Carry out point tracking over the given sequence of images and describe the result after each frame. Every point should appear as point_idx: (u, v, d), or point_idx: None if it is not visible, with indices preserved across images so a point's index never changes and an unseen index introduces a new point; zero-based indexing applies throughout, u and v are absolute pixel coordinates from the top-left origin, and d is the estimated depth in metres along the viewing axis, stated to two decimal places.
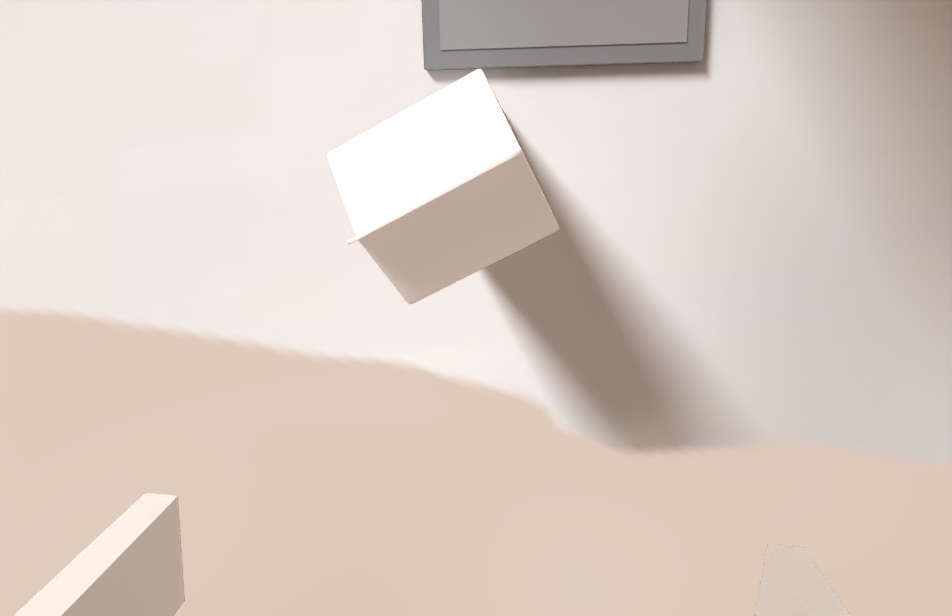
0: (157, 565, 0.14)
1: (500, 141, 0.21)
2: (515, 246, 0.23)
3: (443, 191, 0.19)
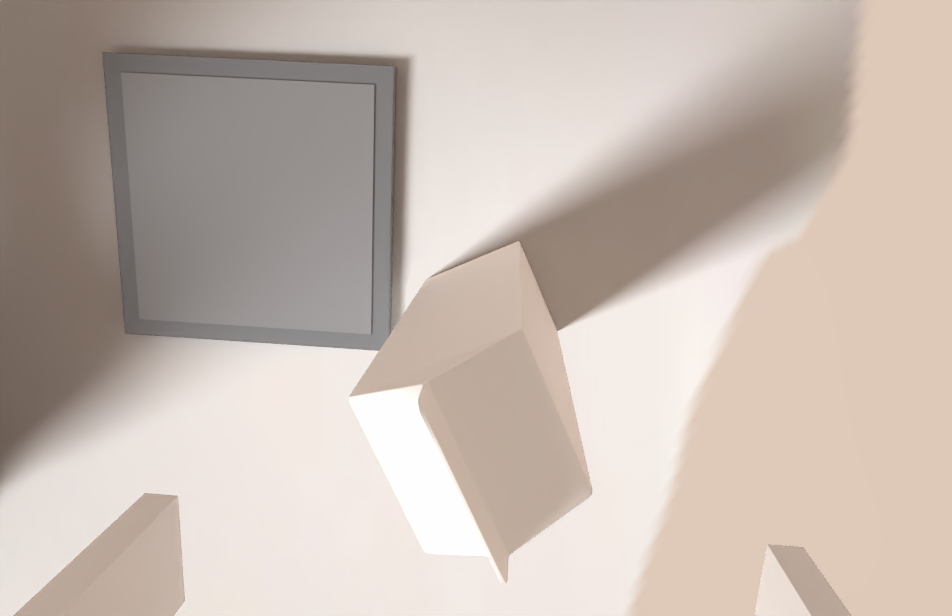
0: (157, 565, 0.14)
1: (415, 400, 0.19)
2: (536, 379, 0.20)
3: (456, 485, 0.18)
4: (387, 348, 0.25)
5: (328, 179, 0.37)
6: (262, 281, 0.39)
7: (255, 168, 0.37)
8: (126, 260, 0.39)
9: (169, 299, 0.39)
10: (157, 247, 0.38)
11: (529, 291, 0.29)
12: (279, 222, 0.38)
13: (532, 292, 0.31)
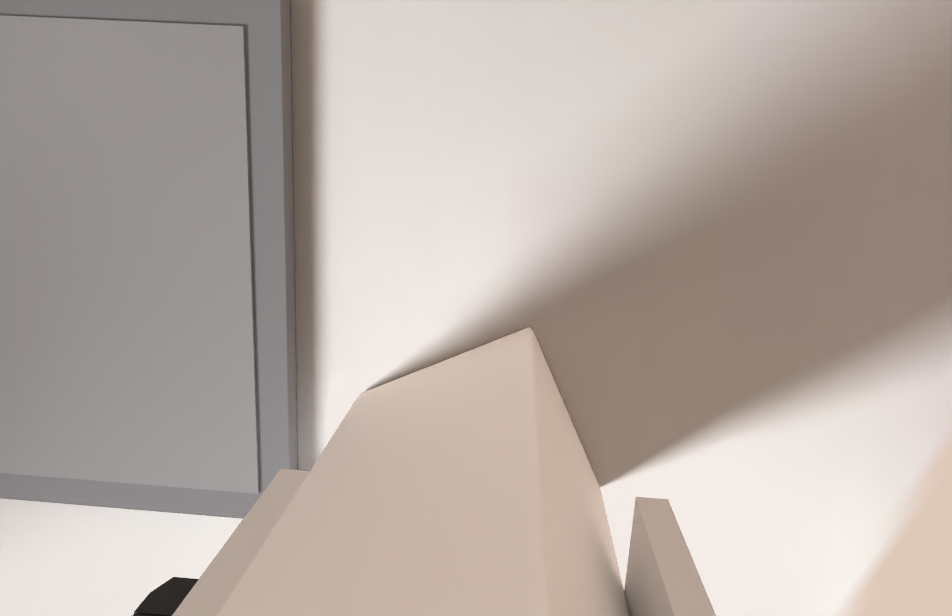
0: None
1: None
2: None
3: None
4: None
5: (165, 213, 0.19)
6: (55, 398, 0.21)
7: (26, 191, 0.19)
8: None
9: None
10: None
11: (563, 524, 0.11)
12: (78, 292, 0.20)
13: (566, 494, 0.13)
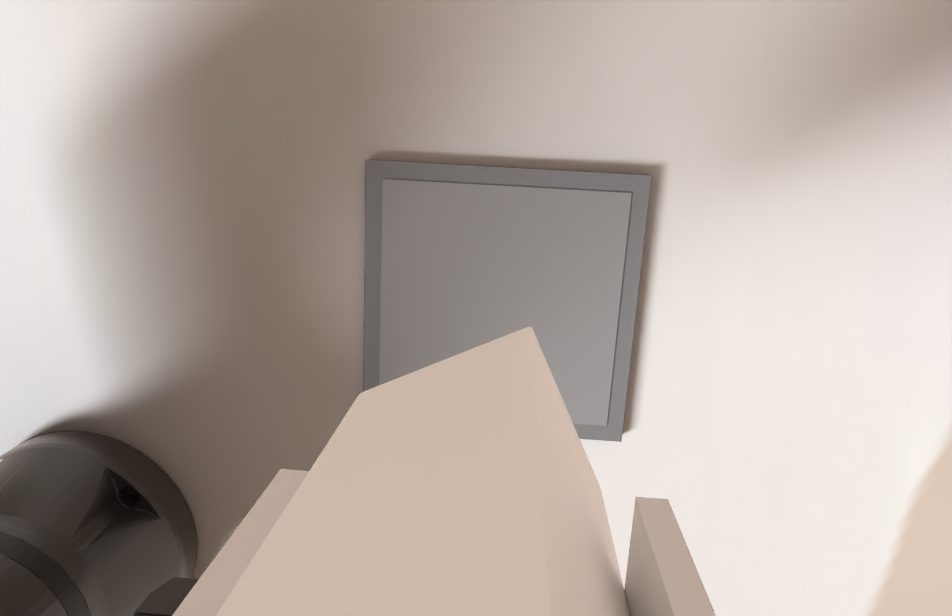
0: None
1: None
2: None
3: None
4: None
5: (578, 281, 0.38)
6: None
7: (505, 269, 0.38)
8: (370, 354, 0.40)
9: None
10: (403, 342, 0.40)
11: (563, 523, 0.11)
12: (525, 320, 0.39)
13: (566, 494, 0.13)
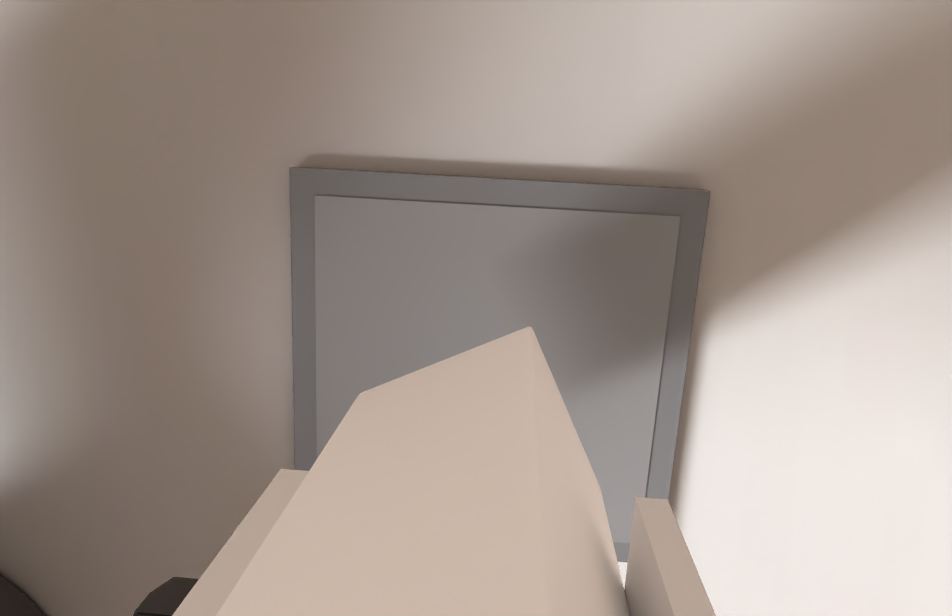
0: None
1: None
2: None
3: None
4: None
5: (600, 343, 0.26)
6: None
7: (495, 325, 0.26)
8: (304, 442, 0.28)
9: None
10: None
11: (563, 523, 0.11)
12: None
13: (566, 494, 0.13)
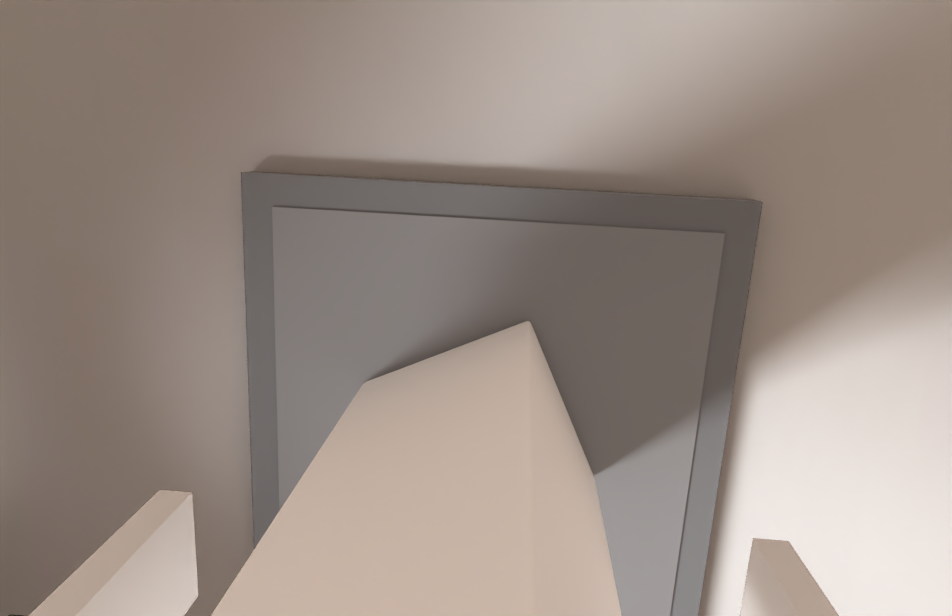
0: (172, 560, 0.14)
1: None
2: None
3: None
4: None
5: (624, 388, 0.21)
6: None
7: None
8: (264, 503, 0.23)
9: None
10: None
11: (553, 507, 0.12)
12: None
13: (558, 480, 0.14)
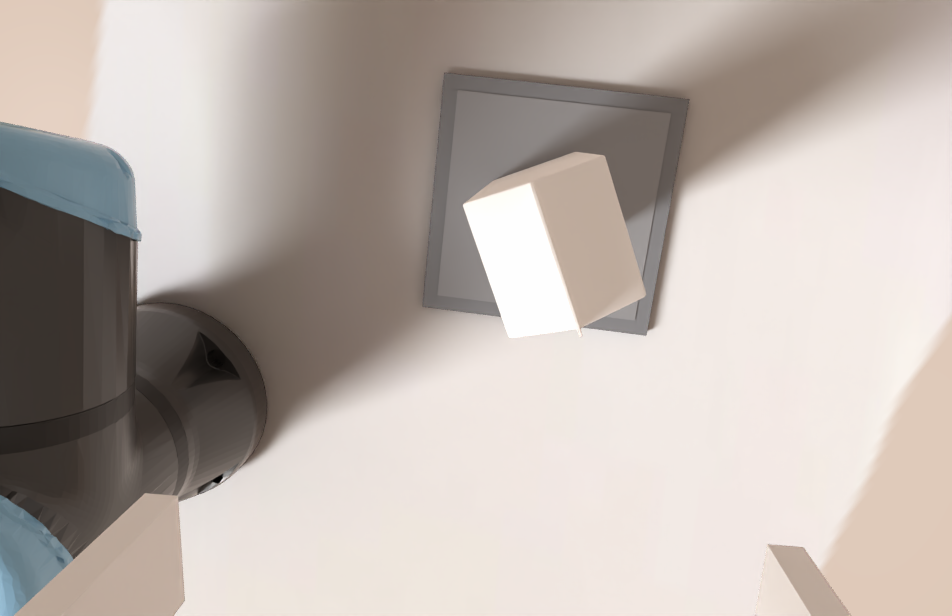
0: (157, 565, 0.14)
1: (521, 198, 0.25)
2: (612, 196, 0.26)
3: (553, 252, 0.24)
4: (481, 192, 0.31)
5: (619, 189, 0.44)
6: None
7: None
8: (434, 245, 0.46)
9: (465, 280, 0.47)
10: (463, 236, 0.46)
11: None
12: None
13: None
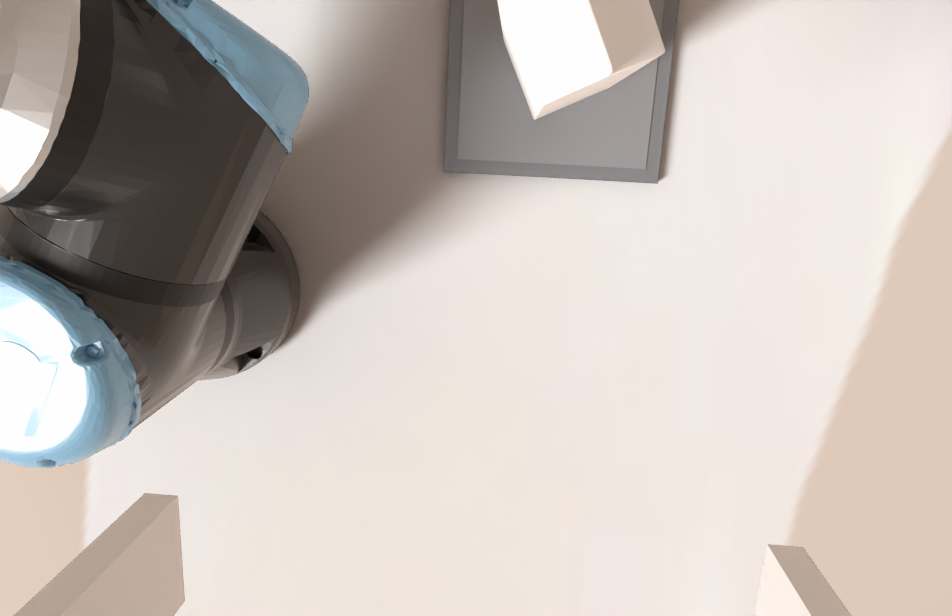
0: (157, 565, 0.14)
1: None
2: None
3: None
4: None
5: None
6: (561, 125, 0.49)
7: None
8: (451, 109, 0.49)
9: (483, 142, 0.49)
10: (479, 98, 0.48)
11: None
12: None
13: None
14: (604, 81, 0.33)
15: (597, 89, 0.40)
